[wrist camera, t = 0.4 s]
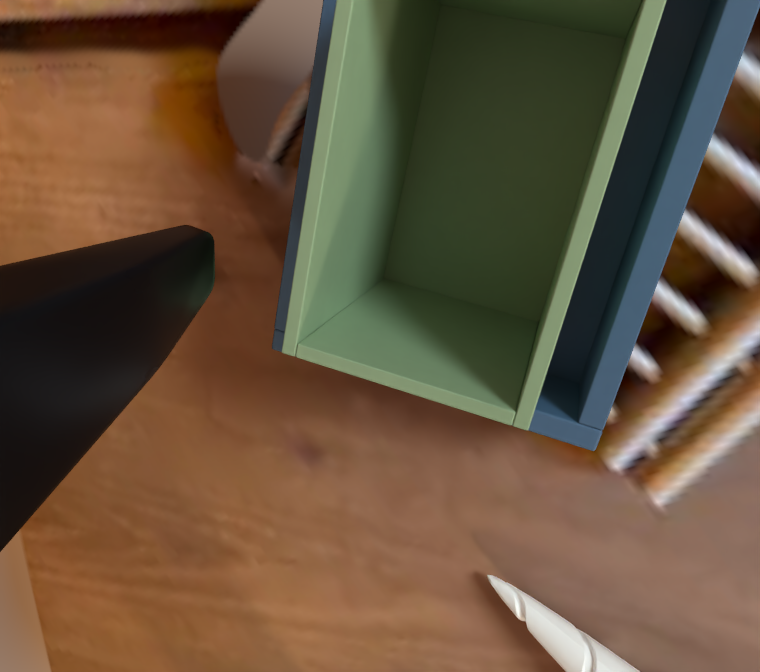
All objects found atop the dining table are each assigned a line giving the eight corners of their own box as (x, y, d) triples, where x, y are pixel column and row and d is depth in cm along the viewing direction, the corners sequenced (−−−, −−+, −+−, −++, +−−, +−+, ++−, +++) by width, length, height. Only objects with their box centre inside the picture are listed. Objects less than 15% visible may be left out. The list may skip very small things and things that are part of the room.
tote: (594, 403, 24) (595, 452, 21) (313, 318, 27) (270, 349, 23) (753, -42, 19) (792, -81, 15) (385, -99, 21) (344, -144, 18)
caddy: (548, 330, 24) (527, 431, 16) (376, 281, 25) (280, 353, 17) (642, 29, 20) (676, -29, 12) (436, -8, 21) (348, -82, 14)
